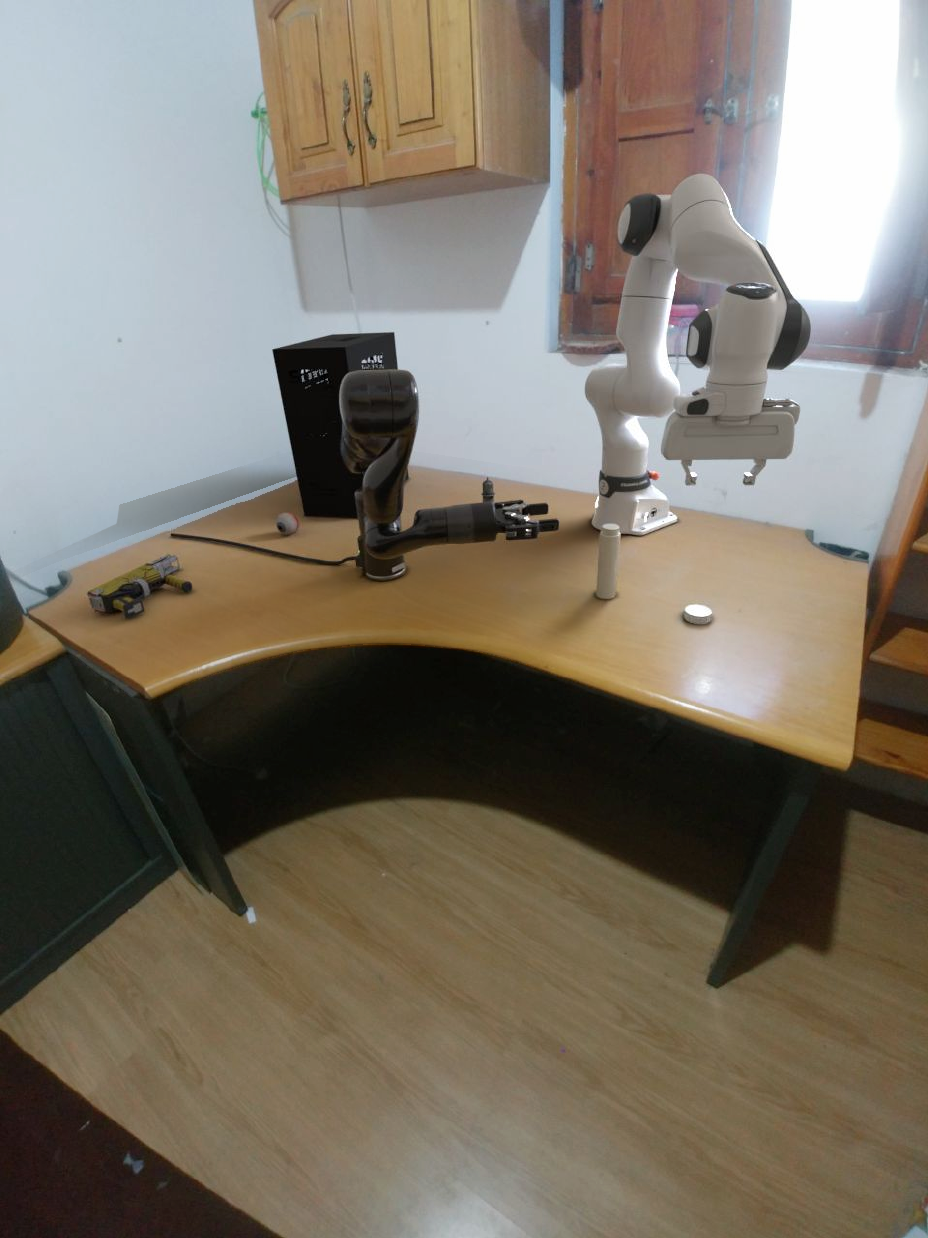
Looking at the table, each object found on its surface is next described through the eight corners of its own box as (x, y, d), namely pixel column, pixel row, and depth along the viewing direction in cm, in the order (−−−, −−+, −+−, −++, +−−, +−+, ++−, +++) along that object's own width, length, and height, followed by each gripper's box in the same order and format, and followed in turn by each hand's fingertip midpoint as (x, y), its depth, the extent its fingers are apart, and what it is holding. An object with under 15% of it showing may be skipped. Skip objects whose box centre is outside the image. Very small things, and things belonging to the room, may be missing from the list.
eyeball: (273, 537, 164) (268, 516, 161) (287, 528, 169) (282, 508, 166) (291, 539, 161) (286, 518, 158) (305, 530, 166) (301, 510, 163)
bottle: (612, 600, 124) (618, 531, 116) (593, 597, 125) (598, 528, 118) (617, 592, 127) (623, 523, 119) (598, 589, 128) (603, 521, 121)
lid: (689, 609, 119) (690, 601, 118) (714, 615, 116) (715, 608, 115) (679, 619, 116) (680, 612, 115) (705, 626, 113) (706, 619, 112)
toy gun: (216, 562, 143) (165, 551, 147) (137, 606, 123) (80, 592, 127) (219, 580, 145) (169, 569, 149) (142, 626, 125) (86, 611, 129)
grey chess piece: (497, 523, 164) (496, 480, 158) (476, 523, 165) (474, 480, 159) (501, 516, 168) (500, 473, 162) (480, 515, 170) (478, 473, 164)
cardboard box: (368, 517, 173) (345, 346, 150) (304, 515, 177) (272, 349, 155) (408, 478, 204) (394, 331, 182) (353, 477, 209) (332, 334, 186)
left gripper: (473, 518, 107) (563, 510, 108) (464, 492, 119) (544, 485, 120) (475, 557, 111) (561, 548, 112) (466, 527, 123) (544, 520, 124)
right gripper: (796, 394, 97) (778, 478, 104) (664, 397, 100) (655, 479, 107) (809, 401, 92) (789, 490, 99) (670, 405, 95) (660, 490, 102)
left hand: (553, 516), depth 116 cm, fingers open, 8 cm apart
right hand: (719, 484), depth 103 cm, fingers open, 8 cm apart
